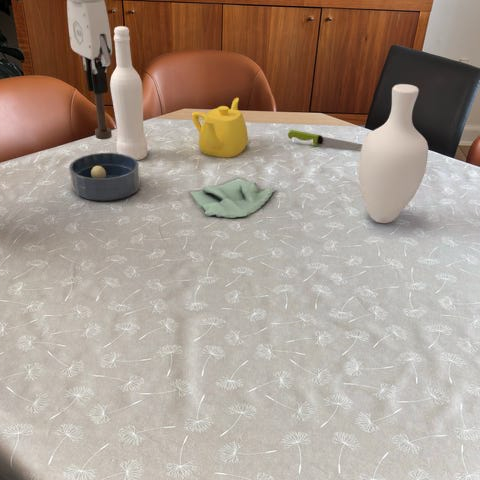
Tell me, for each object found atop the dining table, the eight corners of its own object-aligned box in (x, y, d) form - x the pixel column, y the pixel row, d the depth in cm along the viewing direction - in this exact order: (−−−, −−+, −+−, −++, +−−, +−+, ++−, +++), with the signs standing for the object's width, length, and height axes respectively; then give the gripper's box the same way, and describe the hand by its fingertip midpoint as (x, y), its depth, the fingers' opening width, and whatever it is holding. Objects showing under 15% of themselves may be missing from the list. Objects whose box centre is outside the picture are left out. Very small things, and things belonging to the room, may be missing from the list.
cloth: (201, 221, 147) (200, 211, 145) (186, 182, 162) (186, 172, 161) (288, 215, 150) (289, 204, 148) (266, 177, 166) (266, 167, 164)
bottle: (111, 156, 173) (96, 27, 153) (131, 147, 178) (119, 21, 158) (134, 164, 170) (121, 33, 150) (154, 154, 175) (145, 26, 154)
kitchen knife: (365, 155, 181) (368, 144, 179) (365, 156, 180) (367, 145, 178) (287, 140, 183) (289, 129, 181) (286, 141, 182) (288, 130, 180)
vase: (362, 201, 156) (381, 73, 137) (421, 214, 152) (450, 83, 132) (341, 225, 146) (360, 91, 127) (404, 240, 142) (432, 103, 123)
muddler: (100, 140, 144) (91, 66, 134) (92, 136, 147) (82, 62, 136) (115, 137, 146) (106, 63, 136) (106, 132, 148) (98, 59, 138)
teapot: (207, 131, 189) (207, 91, 181) (258, 138, 185) (259, 98, 177) (176, 158, 174) (174, 115, 166) (230, 167, 170) (230, 123, 162)
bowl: (93, 208, 151) (90, 185, 147) (61, 185, 160) (57, 162, 156) (152, 191, 158) (151, 168, 154) (118, 169, 167) (116, 147, 163)
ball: (96, 185, 159) (94, 170, 156) (89, 180, 161) (87, 165, 158) (109, 181, 160) (107, 167, 158) (102, 176, 162) (100, 162, 160)
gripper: (49, -15, 130) (65, 85, 143) (87, -1, 121) (100, 104, 134) (83, -19, 133) (95, 79, 146) (122, -6, 124) (132, 98, 137)
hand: (98, 90), depth 140 cm, fingers closed on muddler
